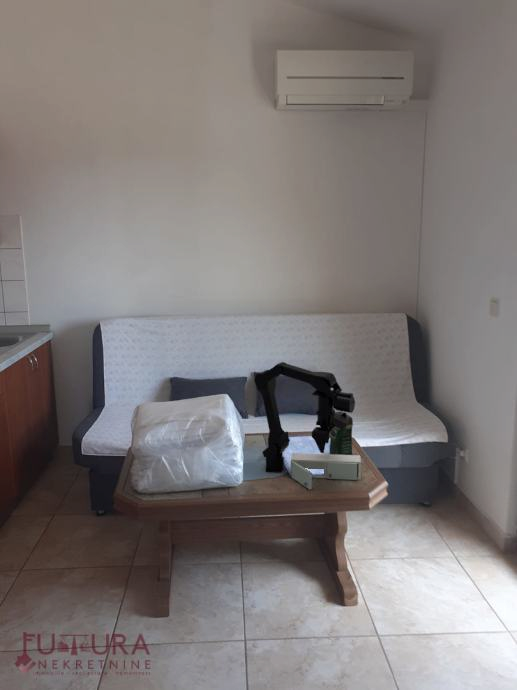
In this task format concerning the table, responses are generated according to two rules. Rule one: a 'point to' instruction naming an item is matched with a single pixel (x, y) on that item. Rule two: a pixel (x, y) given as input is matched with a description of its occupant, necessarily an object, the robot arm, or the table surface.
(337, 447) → the coffee jar
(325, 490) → the table surface
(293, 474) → the door
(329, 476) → the cabinet
